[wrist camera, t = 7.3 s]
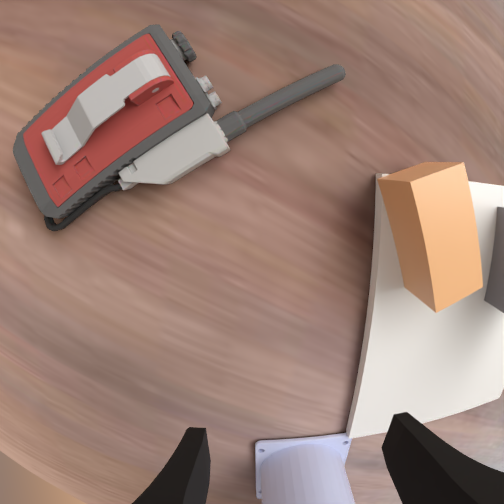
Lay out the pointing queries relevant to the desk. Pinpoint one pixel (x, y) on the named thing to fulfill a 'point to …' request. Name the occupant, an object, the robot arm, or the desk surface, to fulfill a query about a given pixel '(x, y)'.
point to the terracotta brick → (434, 231)
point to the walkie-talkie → (135, 125)
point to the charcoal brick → (497, 266)
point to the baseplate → (427, 336)
